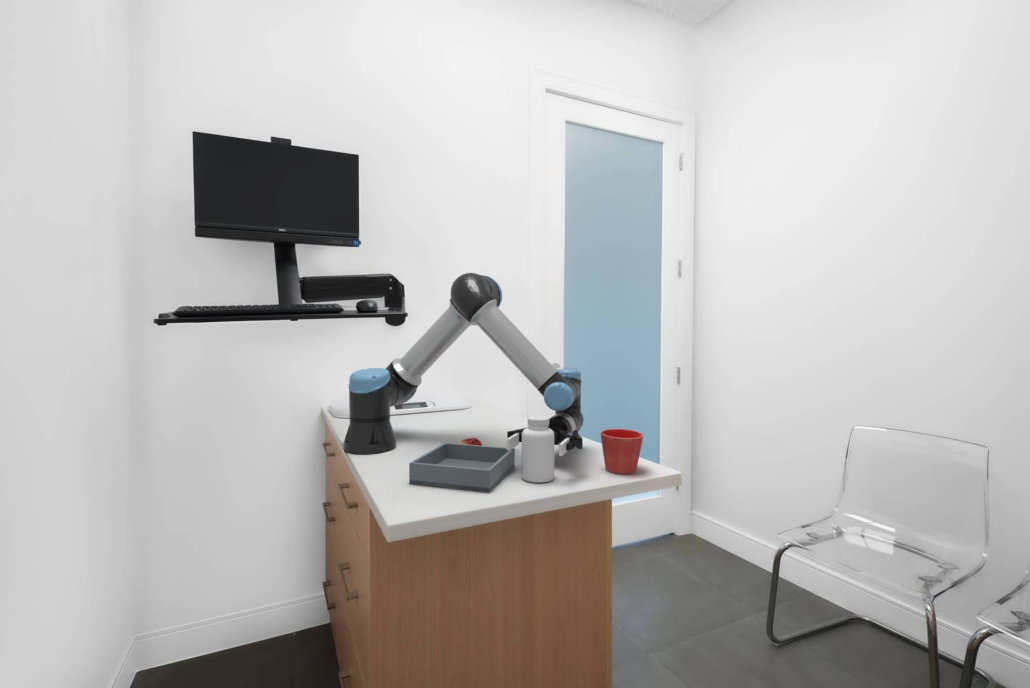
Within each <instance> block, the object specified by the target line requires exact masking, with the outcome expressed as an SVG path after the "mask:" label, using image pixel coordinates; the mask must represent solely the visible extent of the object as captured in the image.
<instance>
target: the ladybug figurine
mask: <svg viewBox="0 0 1030 688" xmlns="http://www.w3.org/2000/svg"><path fill="white" fill-rule="evenodd" d="M458 444H466V445H478V446H483V444H482V442H481V440H480V439H478V438H477V437H469V438H465V439H462V440H460V441H459V443H458Z"/></svg>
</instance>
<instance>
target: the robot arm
mask: <svg viewBox="0 0 1030 688" xmlns="http://www.w3.org/2000/svg"><path fill="white" fill-rule="evenodd" d="M502 301H503V291H502V287H501V286H500V284H499V283H498V281H496V279H493V278H492V277H491V276H489V275H482V274H478V273H475V272H466V273H463V274H460V275H459V276H458V277H456V279H454V280H453V282H452V285H451V288H450V299H449V306H448V308H446V310H445V311H444V312H443V313H442V314H441V315H440V316H439V317H438V318H437V320H436V321H435V322H434V323H433V324H432V325H431V326H430V328H428V329H427V330H426V331H425V333H424V334H423V335H421V336H420V337H419V339H418V340H417V341H416V342H415V343H414V344H413V345H412V347H411V348H410V349H408V351H407V352H406V353H405V354H404V355H403V356H402V357H401V358H400V357H399V358H394V359H393V360H392V361H391V362H390V363H389V364H388V365H387V367H385V368H384V367H371V368H366V369H365V368H363V369H359V370H356V371H354V372H352V373H351V374H350V376H349V381H348V382H349V383H348V390H349V391H348V393H349V394H348V395H349V396H348V398H349V399H348V401H349V405H348V406H349V408H348V409H349V424H348V428H347V431H346V434H345V438H344V439H343V451H345V452H346V453H348V454H349V453H350V454H357V455H366V454H367V455H370V454H371V455H372V454H380V453H384V452H388V451H392V450H394V449H395V448H396V447H397V438H396V436H395V431H394V429H393V426H392V424H391V407H394V406H397V405H398V406H399V405H402V404H404V403H407V402H408V401H409V400H410V399H412V398H413V397H414V395H416V392H417V390H418V387H419V386H420V385H421V384H422V382H423V381H422V380H423V379H422V376H423V375H424V374H425V373H426V372H427V371H429V369H430V368H431V367H432V366H434V364H435V362H437V361H438V359H439V358H440V357H441V356H442V355H443V354H444V353H445V352H446V351H447V350H448V349H449V348H451V346H452V345H453V344H454V343H455V342H456V341H457V340H458V339H459V337H461V336H462V334H463V333H464V332H465V331H466V330H467V329H468V328H469V327H471V326H478V328H480V329H481V331H482V332H483V333H484V334H485V335H486V336H487V337H488V338H489V339H490V340H491V342H493V343H494V345H496V347H497V348H498V349H499V350H500V351H501V352H502V353H503V354H504V355H505V356H506V358H507V359H508V360H509V361H510V362H511V363H512V365H514V367H516V368H517V370H518V371H520V373H521V374H522V375H523V376H524V377H525V378H526V379H527V380H528V382H530V383H531V385H532V386H533V387H534V388H535V389H536V390H537V391H538V392H539V394H541V396H542V397H543V401H544V403H545V404H546V405H545V406H547V407H548V408H549V409H550V410H552V411H555V412H554V415H553V416H551V417H550V418H549V426H548V428H550V429H552V430H553V432H554V446H558V456H559V457H563V456H564V455H565V454H566V453H567V452H569V451H572V450H574V449H575V448H577V450H582V449H583V443H584V442H583V437H582V436H581V435H580V434H579V431H580V430H581V428H582V427H583V424H584V421H585V419H584V418H585V417H584V414H583V413H582V403H581V402H582V401H581V400H582V399H581V398H582V396H581V395H582V374H581V371H580V370H579V369H575V368H560V369H556V368H555V366H553V365H552V364H551V362H550V361H548V359H547V358H546V357H545V356H544V355H543V353H541V352H540V351H539V350H538V349H537V348H536V346H535V345H534V344H533V343H532V342H531V341H530V340H529V339H528V338H527V337H526V336H525V335H524V333H522V331H521V330H520V329H519V328H518V327H517V326H516V325H515V324H514V323H513V321H511V319H509V318H508V317H507V316H506V314H505V313H504V312H503V311H502V310H501V309H500V306H501V303H502ZM526 428H528V426H527V427H524V428H523V427H522V428H519V429H514V430H509V431H507V432H506V434H507V435H506V436H507V437H506V448H507V450H511V449H512V448H515V447H517V446H518V445H520V443H522V432H523V430H524V429H526Z"/></svg>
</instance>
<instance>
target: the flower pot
mask: <svg viewBox="0 0 1030 688" xmlns="http://www.w3.org/2000/svg"><path fill="white" fill-rule="evenodd" d="M600 439H601V446H602V447H601V448H602V452H603V453H602V455H603V461H604V466H605V470H606V471H607V472H609V473H613V474H618V475H631V474H634V473H636V472H637V467H638V464H639V460H640V454H641V450H642V444H643V439H644V435H643V433H642V432H640V431H637V430H631V429H625V428H624V429H623V428H609V429H603V430H601V431H600Z"/></svg>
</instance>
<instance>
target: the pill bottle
mask: <svg viewBox="0 0 1030 688" xmlns="http://www.w3.org/2000/svg"><path fill="white" fill-rule="evenodd" d="M549 419H550V418H549V417H548V416H545V415H544V416H543V415H533V416H532V415H531V416H527V424H526V426H527V427H528V428H527V427H525V428H526V429H524V430H523V432H522V442H521V477H522V480H523V481H526V482H529V483H535V484H536V483H539V484H540V483H541V484H542V483H549V482H551V481H553V480H554V478H555V445H554V432H553V430H552V429H550V428H548V426H549Z"/></svg>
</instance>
